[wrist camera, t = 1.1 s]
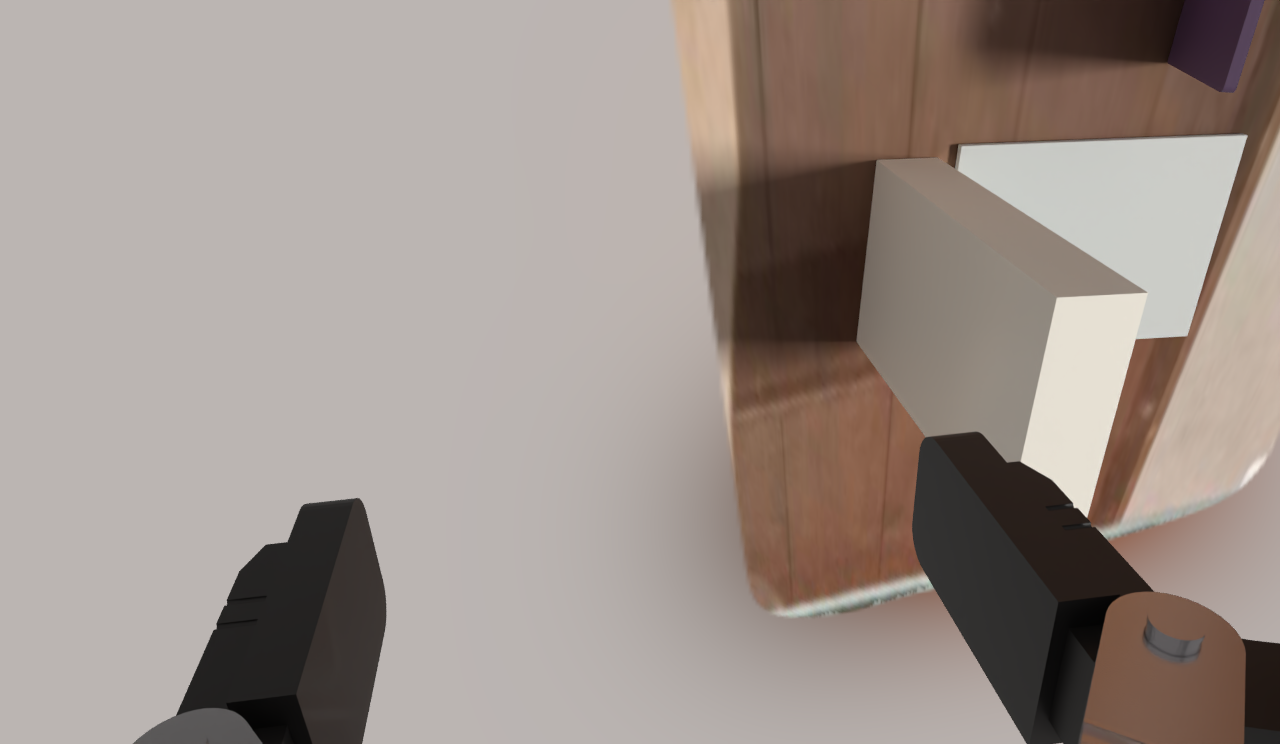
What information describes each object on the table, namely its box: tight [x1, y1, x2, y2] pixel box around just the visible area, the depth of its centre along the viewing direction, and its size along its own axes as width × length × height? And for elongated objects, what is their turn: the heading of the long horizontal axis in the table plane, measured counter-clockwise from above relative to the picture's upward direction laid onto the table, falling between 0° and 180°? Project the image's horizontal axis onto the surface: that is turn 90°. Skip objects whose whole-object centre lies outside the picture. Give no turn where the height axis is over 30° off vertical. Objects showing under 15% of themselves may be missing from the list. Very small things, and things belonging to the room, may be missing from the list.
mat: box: [955, 134, 1247, 339], centre depth 38 cm, size 9×12×1 cm
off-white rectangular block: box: [856, 158, 1148, 518], centre depth 31 cm, size 8×3×14 cm, turn 0°
